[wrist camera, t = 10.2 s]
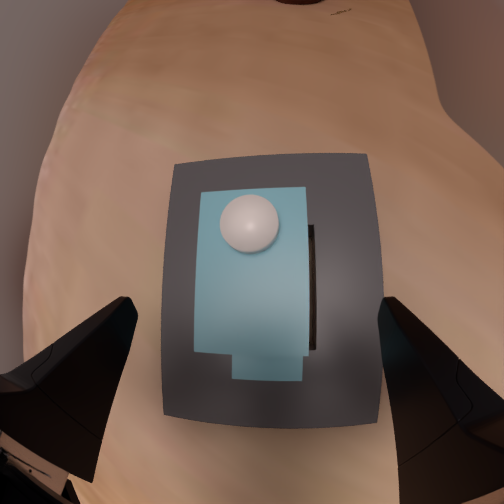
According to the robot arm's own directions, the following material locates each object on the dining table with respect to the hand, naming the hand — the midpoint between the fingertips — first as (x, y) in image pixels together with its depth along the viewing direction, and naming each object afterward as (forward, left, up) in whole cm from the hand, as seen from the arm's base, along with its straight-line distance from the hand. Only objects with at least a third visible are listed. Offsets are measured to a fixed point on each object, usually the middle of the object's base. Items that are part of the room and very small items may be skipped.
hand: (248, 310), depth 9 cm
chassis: (+1, -1, -10) cm, 10 cm away
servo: (+1, -1, -10) cm, 10 cm away
